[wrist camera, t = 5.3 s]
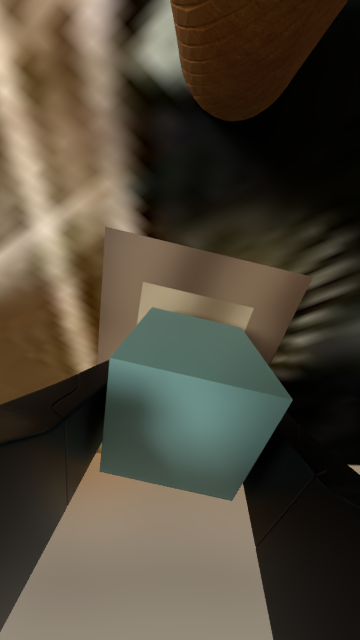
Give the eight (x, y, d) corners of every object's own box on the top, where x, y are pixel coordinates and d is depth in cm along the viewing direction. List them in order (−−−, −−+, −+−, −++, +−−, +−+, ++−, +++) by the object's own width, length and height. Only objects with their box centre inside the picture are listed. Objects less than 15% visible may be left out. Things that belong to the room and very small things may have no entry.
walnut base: (288, 273, 12) (312, 276, 10) (233, 400, 16) (240, 424, 14) (122, 233, 12) (105, 226, 9) (109, 372, 16) (95, 391, 14)
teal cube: (241, 327, 9) (293, 400, 4) (214, 397, 11) (231, 500, 6) (152, 307, 9) (109, 357, 4) (139, 379, 11) (99, 471, 6)
